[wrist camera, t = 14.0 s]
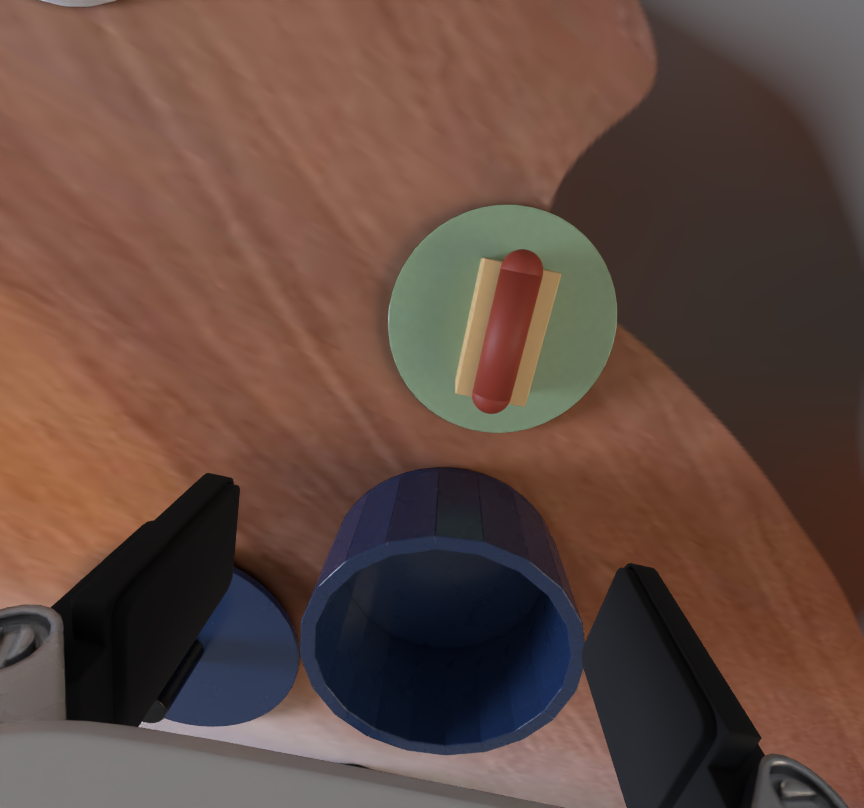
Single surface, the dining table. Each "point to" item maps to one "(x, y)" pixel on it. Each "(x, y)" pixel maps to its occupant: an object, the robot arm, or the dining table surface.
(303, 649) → the pot
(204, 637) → the pot lid
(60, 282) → the dining table surface
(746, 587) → the dining table surface
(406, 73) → the dining table surface
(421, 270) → the plate
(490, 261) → the hot dog
